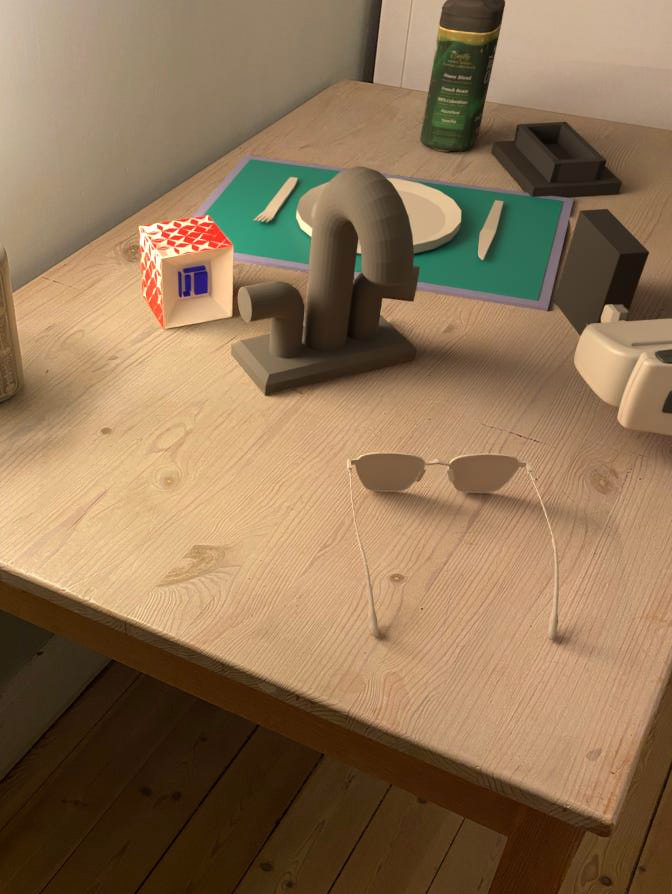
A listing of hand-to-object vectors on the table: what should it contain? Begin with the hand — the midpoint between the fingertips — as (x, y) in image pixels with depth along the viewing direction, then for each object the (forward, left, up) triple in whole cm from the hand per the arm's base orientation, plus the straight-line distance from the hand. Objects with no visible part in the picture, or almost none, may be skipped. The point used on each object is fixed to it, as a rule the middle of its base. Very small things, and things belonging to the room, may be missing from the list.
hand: (658, 308), depth 88 cm
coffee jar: (+19, -61, -8) cm, 65 cm away
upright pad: (+4, -11, -8) cm, 14 cm away
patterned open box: (+47, -7, -8) cm, 48 cm away
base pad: (+5, -52, -8) cm, 53 cm away
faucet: (+29, +4, -8) cm, 30 cm away
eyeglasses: (+18, +30, -8) cm, 35 cm away
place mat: (+27, -32, -9) cm, 43 cm away
